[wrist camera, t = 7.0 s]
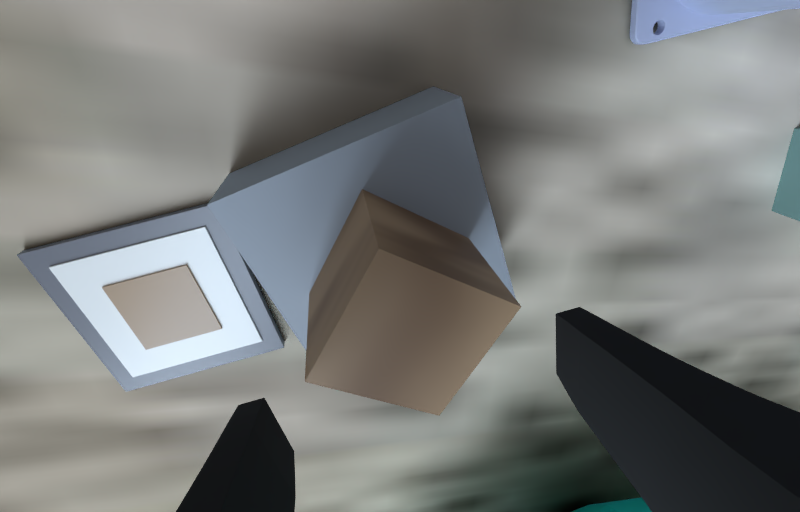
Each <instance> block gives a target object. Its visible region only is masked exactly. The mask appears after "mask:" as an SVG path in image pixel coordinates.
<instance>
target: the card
mask: <svg viewBox="0 0 800 512" xmlns="http://www.w3.org/2000/svg"><path fill="white" fill-rule="evenodd" d="M207 204H208V203H206V204H203V205H199V206H195V207H191V208H187V209H183V210H179V211H175V212H171V213H167V214H164V215H160V216H156V217H152V218H148V219H144V220H140V221H136V222H132V223H128V224H125V225H121V226H117V227H113V228H109V229H105V230H101V231H97V232H93V233H89V234H86V235H82V236H78V237H74V238H70V239H66V240H62V241H58V242H54V243H50V244H47V245H43V246H39V247H35V248H31V249H27V250H23V251H22V252H20V253H19V254H17V256H18V257H19V258H20V260H21V261H22V262H23V263H24V265H25V266H26V267H27V268H28V270H29V271H30V272H31V273H32V275H33V276H34V277H35V278H36V280H37V281H38V282H39V283H40V285H41V286H42V287H43V288H44V290H45V291H46V292H47V293H48V295H49V296H50V297H51V298H52V300H53V301H54V302H55V303H56V305H57V306H58V307H59V308H60V310H61V311H62V312H63V313H64V315H65V316H66V317H67V318H68V320H69V321H70V322H71V323H72V325H73V326H74V327H75V328H76V330H77V331H78V332H79V334H80V335H81V336H82V337H83V339H84V340H85V341H86V342H87V344H88V345H89V346H90V347H91V349H92V350H93V351H94V352H95V354H96V355H97V356H98V357H99V359H100V360H101V361H102V362H103V364H104V365H105V366H106V367H107V369H108V370H109V371H110V372H111V374H112V375H113V376H114V377H115V379H116V380H117V381H118V382H119V384H120V385H121V386H122V387H123V389H124V390H125V391H126V392H127V391H130V390H134V389H137V388H141V387H145V386H148V385H152V384H155V383H159V382H162V381H166V380H170V379H173V378H177V377H180V376H184V375H187V374H191V373H195V372H198V371H202V370H205V369H209V368H212V367H216V366H220V365H223V364H227V363H230V362H234V361H237V360H241V359H245V358H248V357H252V356H255V355H259V354H263V353H266V352H270V351H273V350H277V349H280V348H284V343H285V342H284V340H283V338H282V336H281V334H280V331H279V329H278V327H277V325H276V323H275V321H274V319H273V316H272V314H271V312H270V310H269V308H268V306H267V304H266V301H265V299H264V297H263V295H262V293H261V291H260V289H259V286H258V284H257V282H256V280H255V278H254V276H253V274H252V271H251V269H250V267H249V266H248V264H247V263H246V261H245V260H244V259H243V257H242V256H241V254H240V253H239V251H238V250H237V248H236V247H235V245H234V244H233V242H232V241H231V239H230V238H229V236H228V235H227V233H226V232H225V231H224V229H223V228H222V226H221V225H220V223H219V222H218V220H217V219H216V217H215V216H214V214H213V213H212V211H211V210H210V208H209V207H208V206H207Z"/></svg>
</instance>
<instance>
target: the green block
mask: <svg viewBox="0 0 800 512" xmlns="http://www.w3.org/2000/svg"><path fill="white" fill-rule="evenodd" d="M772 211H774V212H776V213H779V214H782V215H785V216H787V217H790V218H793V219H795V220H798V221H800V127H798V128H794V132H793V135H792V139H791V142H790V146H789V150H788V153H787V157H786V160H785V164H784V168H783V171H782V175H781V179H780V182H779V186H778V189H777V193H776V197H775V200H774V204H773V207H772Z"/></svg>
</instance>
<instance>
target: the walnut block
mask: <svg viewBox="0 0 800 512" xmlns="http://www.w3.org/2000/svg"><path fill="white" fill-rule="evenodd" d="M520 308H521V306H520V304H519V303H518V302H517V300H516V299H515V298H514V297H513V295H512V294H511V293H510V291H509V290H508V289H507V287H506V286H505V285H504V283H503V282H502V281H501V280H500V278H499V277H498V276H497V274H496V273H495V272H494V270H493V269H492V268H491V266H490V265H489V264H488V263H487V261H486V260H485V259H484V257H483V256H482V255H481V253H480V252H479V251H478V249H477V248H476V247H475V246H474V244H473V243H472V242H471V240H470V239H469V238H467V237H465V236H463V235H461V234H459V233H456V232H454V231H452V230H450V229H448V228H446V227H443V226H441V225H439V224H437V223H435V222H433V221H430V220H428V219H426V218H424V217H422V216H420V215H417V214H415V213H413V212H411V211H409V210H407V209H404V208H402V207H400V206H398V205H396V204H394V203H391V202H389V201H387V200H385V199H383V198H381V197H378V196H376V195H374V194H372V193H370V192H368V191H365V190H363V189H362V190H361V192H360V194H359V196H358V198H357V200H356V202H355V204H354V206H353V208H352V210H351V212H350V214H349V216H348V218H347V220H346V222H345V224H344V226H343V228H342V230H341V231H340V233H339V235H338V237H337V239H336V241H335V243H334V245H333V247H332V249H331V251H330V253H329V255H328V257H327V259H326V261H325V263H324V265H323V267H322V269H321V271H320V273H319V275H318V277H317V279H316V281H315V283H314V285H313V287H312V289H311V291H310V293H309V307H308V328H307V349H306V369H305V382H308V383H312V384H316V385H320V386H324V387H328V388H332V389H336V390H340V391H344V392H348V393H352V394H355V395H359V396H363V397H367V398H371V399H375V400H379V401H383V402H387V403H391V404H395V405H399V406H403V407H407V408H411V409H415V410H419V411H423V412H427V413H431V414H435V415H440V414H441V413H442V411H443V410H444V409H445V407H446V406H447V405H448V403H449V402H450V401H451V400H452V398H453V397H454V396H455V394H456V393H457V392H458V390H459V389H460V388H461V386H462V385H463V384H464V382H465V381H466V380H467V378H468V377H469V376H470V374H471V373H472V372H473V370H474V369H475V368H476V366H477V365H478V364H479V362H480V361H481V360H482V358H483V357H484V356H485V354H486V353H487V352H488V350H489V349H490V348H491V346H492V345H493V344H494V342H495V341H496V340H497V338H498V337H499V336H500V334H501V333H502V332H503V330H504V329H505V328H506V326H507V325H508V324H509V322H510V321H511V320H512V318H513V317H514V316H515V314H516V313H517V312H518V310H519V309H520Z"/></svg>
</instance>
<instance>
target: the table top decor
mask: <svg viewBox="0 0 800 512" xmlns="http://www.w3.org/2000/svg"><path fill="white" fill-rule="evenodd" d="M572 512H652V511H651V510H650V509H649V507H648V506H647V504H646V503H645V501H644V500H643V498H642V497H640V498H633V499H626V500H619V501H612V502H605V503H598V504H591V505H587V506H584V507H582V508H579V509H577V510H574V511H572Z"/></svg>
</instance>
